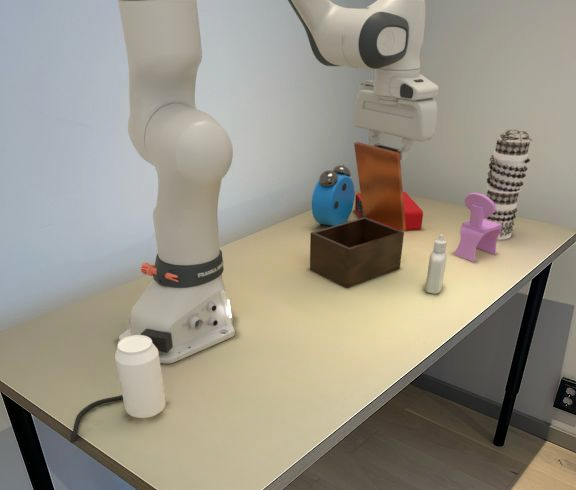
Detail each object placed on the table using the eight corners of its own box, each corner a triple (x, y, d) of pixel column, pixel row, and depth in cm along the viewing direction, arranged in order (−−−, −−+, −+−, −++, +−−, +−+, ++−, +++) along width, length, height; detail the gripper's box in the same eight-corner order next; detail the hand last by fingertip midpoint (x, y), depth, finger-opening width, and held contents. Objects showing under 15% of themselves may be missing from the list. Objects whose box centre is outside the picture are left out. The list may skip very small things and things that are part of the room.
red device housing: (354, 210, 168) (355, 193, 166) (402, 208, 170) (404, 191, 167) (368, 232, 154) (369, 213, 151) (421, 230, 155) (423, 211, 152)
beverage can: (138, 395, 94) (126, 329, 87) (173, 401, 92) (164, 335, 86) (118, 417, 89) (104, 350, 82) (155, 425, 88) (143, 357, 81)
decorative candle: (493, 225, 158) (513, 126, 144) (520, 235, 152) (544, 133, 137) (468, 231, 154) (486, 130, 140) (495, 242, 148) (517, 137, 133)
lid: (397, 154, 117) (414, 144, 119) (353, 143, 125) (370, 133, 127) (403, 230, 129) (418, 220, 131) (363, 215, 137) (378, 206, 139)
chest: (346, 288, 126) (349, 249, 121) (309, 269, 134) (310, 232, 129) (400, 269, 134) (404, 231, 129) (361, 252, 143) (364, 217, 138)
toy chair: (500, 254, 141) (514, 192, 133) (477, 263, 137) (490, 199, 128) (472, 244, 147) (484, 183, 138) (449, 252, 142) (460, 190, 134)
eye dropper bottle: (449, 288, 126) (458, 234, 119) (433, 296, 123) (442, 241, 116) (432, 281, 129) (440, 228, 122) (417, 289, 126) (424, 235, 119)
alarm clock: (334, 216, 165) (337, 160, 156) (354, 220, 162) (357, 164, 153) (310, 229, 156) (311, 171, 147) (330, 234, 153) (332, 175, 144)
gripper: (348, 79, 122) (345, 149, 130) (423, 91, 109) (414, 168, 117) (370, 77, 125) (365, 145, 133) (445, 88, 112) (435, 163, 120)
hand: (389, 156), depth 125 cm, fingers closed on lid, 6 cm apart
